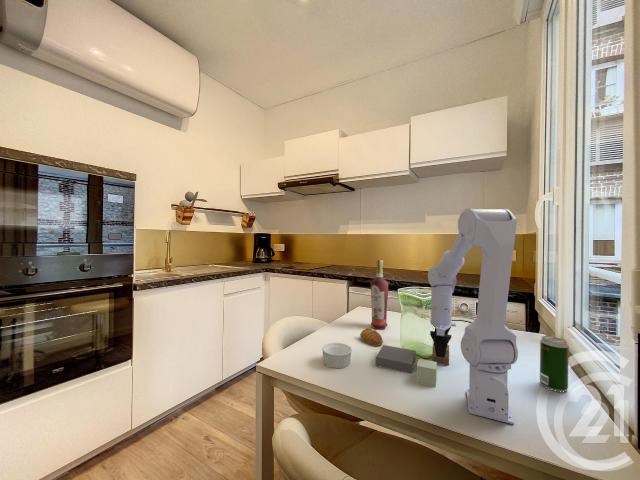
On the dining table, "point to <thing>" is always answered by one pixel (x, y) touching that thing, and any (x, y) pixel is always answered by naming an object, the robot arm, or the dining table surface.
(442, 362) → the walnut cube
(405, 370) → the charcoal slab
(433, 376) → the sage green cube
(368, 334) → the pastry
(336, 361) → the ramekin
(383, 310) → the liquor
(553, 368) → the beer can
